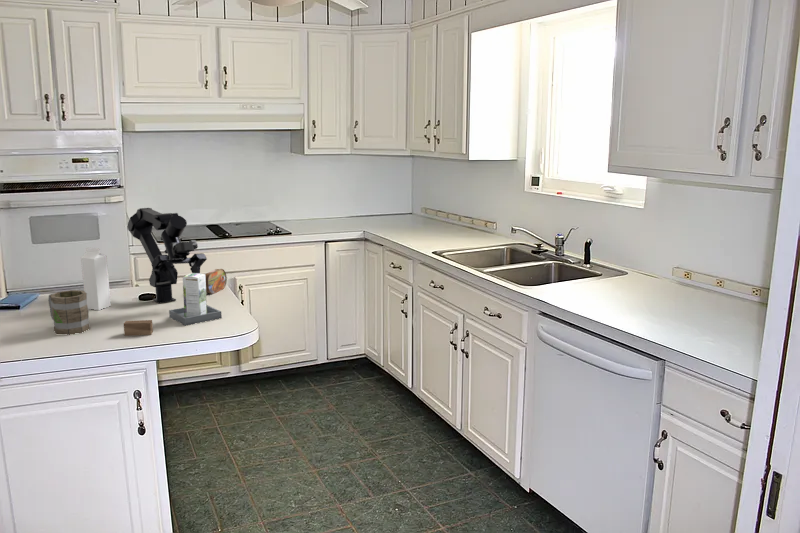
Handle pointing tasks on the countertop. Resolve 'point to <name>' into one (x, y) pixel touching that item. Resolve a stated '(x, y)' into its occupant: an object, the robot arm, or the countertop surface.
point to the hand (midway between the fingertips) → (187, 281)
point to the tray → (179, 316)
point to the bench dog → (138, 327)
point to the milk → (95, 279)
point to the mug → (69, 311)
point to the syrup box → (194, 294)
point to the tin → (215, 281)
